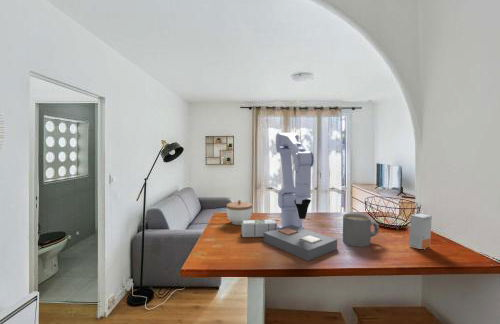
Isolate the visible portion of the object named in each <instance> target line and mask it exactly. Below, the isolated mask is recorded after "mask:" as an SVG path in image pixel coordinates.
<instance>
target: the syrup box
mask: <svg viewBox="0 0 500 324" xmlns="http://www.w3.org/2000/svg"><path fill="white" fill-rule="evenodd" d="M275 229H278V223H277V221H276V219H249V220H242V225H241V235H242V236H241V237H242V238H261V237H263V238H264V232H267V231H271V230H275Z"/></svg>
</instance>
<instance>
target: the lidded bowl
mask: <svg viewBox="0 0 500 324" xmlns="http://www.w3.org/2000/svg"><path fill="white" fill-rule="evenodd" d="M225 208H226V214H227V218H228V219H229V222H231V224H232V225H235V226H242V220H251V217H252V213H253V203H251V202H247V201H242V200H241V199H240V200H239V199H238V201H233V202H228V203H227V204H226V207H225Z"/></svg>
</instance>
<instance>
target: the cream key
mask: <svg viewBox="0 0 500 324" xmlns="http://www.w3.org/2000/svg"><path fill="white" fill-rule="evenodd" d="M301 241H304V242H307V243H310V244H315V243H318V242H320V241H321V239H319V238H316V237H313V236H310V235H309V236H306V237H303V238H301Z"/></svg>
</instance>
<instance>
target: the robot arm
mask: <svg viewBox="0 0 500 324" xmlns="http://www.w3.org/2000/svg"><path fill="white" fill-rule="evenodd" d="M299 141H300V137H299V134H298V133H297V132H277V133H276V135H275V149H276V152H277V153H279V154H280V160H281V163H280V164H281V171H282V173H281V174H282V181H283V182H282V183H283V185H282V186H283V188H281V189H280V190H279V191H278V193H277V196H278V198H277V205H278V207H279V208H280V209H281V225H277V227H278V228H282V227H286V226H290V225H294V226H297V227H300V228H303V229H305V226H303V220H305V219H306V217H307V213H308V209H309V207H310V203H311V202H312V199H310V198H312V194H311V188H312V187H311V185H312V183H311V182H312V167H313V165H314V161H315V160H314V159H315V158H314V153H313V152H312V151H310V150H308V151H307V149H306V148H305V145H303V143H301V142H299ZM292 157H293V158H292ZM292 159H293V162H292ZM292 163H293V164H292ZM292 165H293V166H294V167H293V166H292ZM293 168H294V170H293ZM293 171H295V174H294V173H293ZM294 175H295V177H294ZM294 179H295V180H294ZM294 182H295V183H294Z"/></svg>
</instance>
